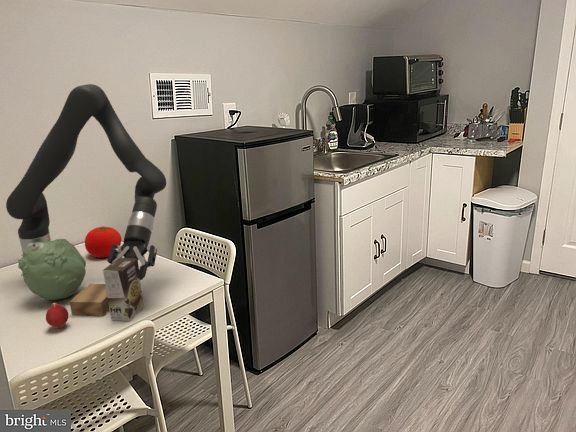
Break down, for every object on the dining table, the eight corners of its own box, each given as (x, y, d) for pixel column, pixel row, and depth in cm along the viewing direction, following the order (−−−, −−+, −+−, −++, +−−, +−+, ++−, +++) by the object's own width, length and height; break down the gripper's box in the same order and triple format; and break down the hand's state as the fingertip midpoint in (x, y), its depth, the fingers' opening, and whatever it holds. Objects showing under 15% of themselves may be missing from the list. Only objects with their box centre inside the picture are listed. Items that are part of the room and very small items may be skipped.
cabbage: (94, 299, 149) (83, 240, 143) (28, 316, 141) (13, 254, 135) (87, 281, 163) (77, 227, 156) (26, 295, 154) (13, 238, 148)
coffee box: (130, 321, 135) (122, 270, 130) (110, 320, 136) (101, 269, 131) (145, 306, 144) (138, 258, 139) (126, 305, 145) (118, 257, 140)
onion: (53, 323, 136) (47, 298, 134) (73, 321, 137) (68, 296, 134) (45, 333, 131) (39, 308, 128) (66, 332, 131) (60, 306, 129)
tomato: (89, 251, 190) (84, 224, 186) (124, 247, 193) (120, 220, 189) (84, 263, 178) (79, 234, 175) (121, 258, 181) (117, 230, 178)
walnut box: (72, 316, 140) (69, 301, 138) (92, 297, 151) (90, 283, 150) (103, 317, 139) (101, 302, 137) (122, 298, 150) (119, 284, 149)
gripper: (112, 223, 143) (98, 273, 136) (156, 224, 141) (143, 275, 134) (124, 233, 150) (110, 281, 143) (165, 234, 147) (154, 283, 140)
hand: (126, 278), depth 138 cm, fingers open, 8 cm apart
